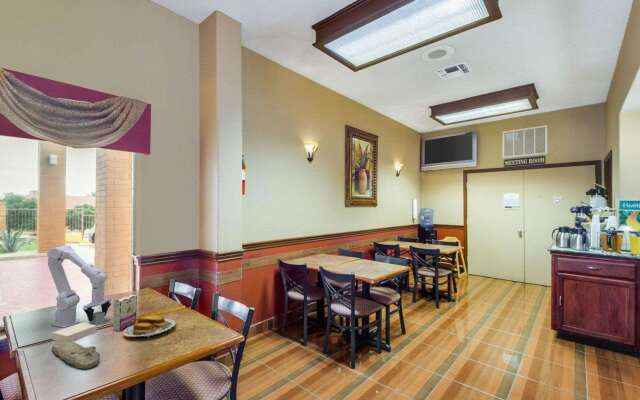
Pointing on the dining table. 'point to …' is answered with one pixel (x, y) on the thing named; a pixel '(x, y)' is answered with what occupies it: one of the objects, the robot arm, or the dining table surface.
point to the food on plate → (149, 326)
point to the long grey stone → (76, 354)
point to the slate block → (98, 318)
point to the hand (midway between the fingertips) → (97, 318)
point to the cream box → (74, 332)
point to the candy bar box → (124, 312)
